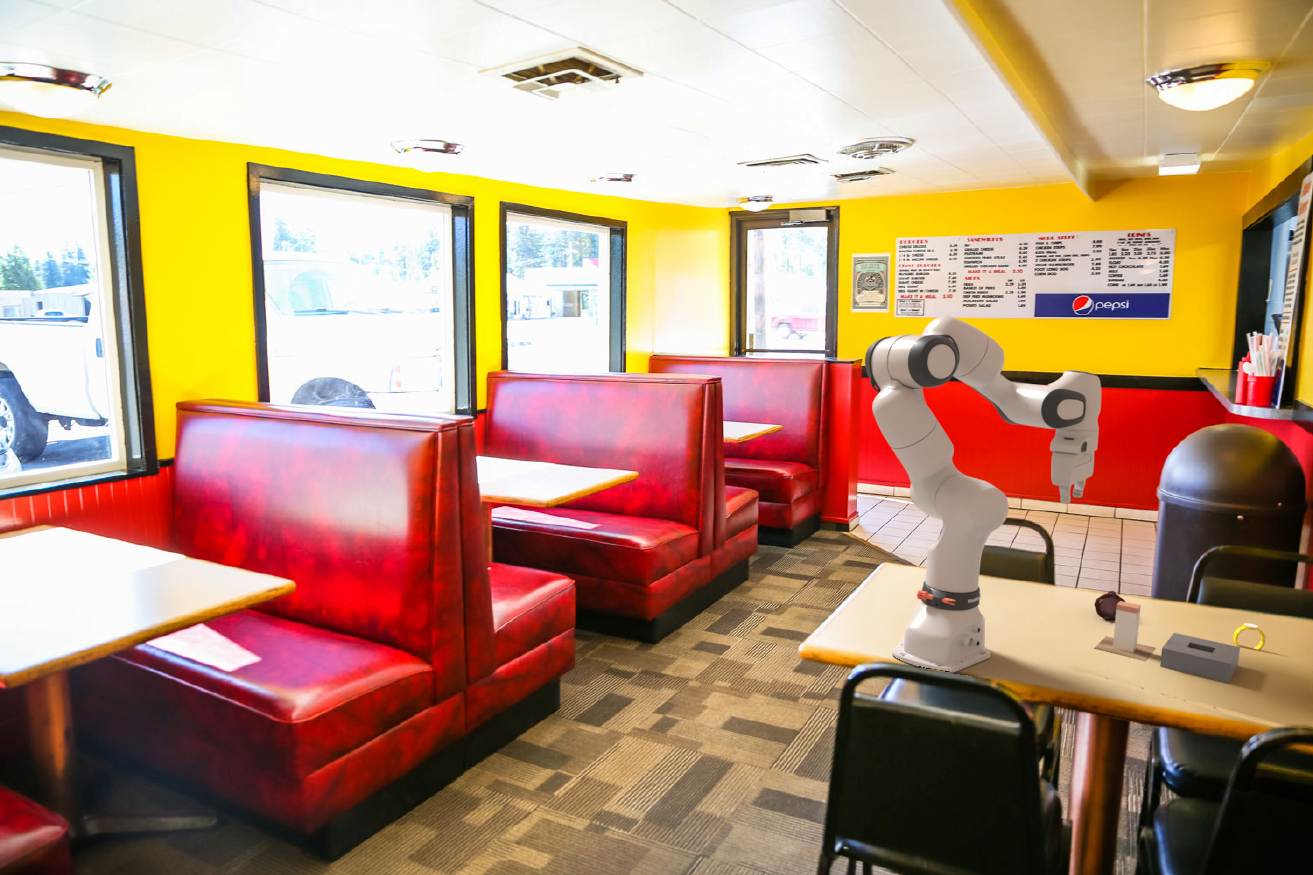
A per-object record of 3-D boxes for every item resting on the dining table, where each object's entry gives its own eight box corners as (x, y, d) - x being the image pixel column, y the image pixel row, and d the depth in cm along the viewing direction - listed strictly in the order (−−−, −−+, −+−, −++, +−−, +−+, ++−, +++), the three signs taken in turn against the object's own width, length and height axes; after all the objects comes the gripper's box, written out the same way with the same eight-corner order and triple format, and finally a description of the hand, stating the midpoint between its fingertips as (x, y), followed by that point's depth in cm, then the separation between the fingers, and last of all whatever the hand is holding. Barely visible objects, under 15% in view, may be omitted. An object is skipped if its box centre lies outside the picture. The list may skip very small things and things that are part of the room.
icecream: (1135, 606, 197) (1130, 593, 210) (1101, 594, 200) (1098, 582, 213) (1124, 633, 198) (1119, 619, 212) (1091, 620, 201) (1088, 607, 214)
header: (1228, 687, 168) (1230, 663, 167) (1159, 670, 176) (1162, 647, 175) (1237, 669, 177) (1240, 647, 176) (1171, 654, 185) (1174, 632, 184)
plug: (1133, 652, 183) (1137, 608, 181) (1112, 647, 185) (1116, 604, 184) (1136, 648, 185) (1140, 605, 184) (1116, 644, 188) (1120, 600, 186)
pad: (1144, 665, 178) (1145, 660, 178) (1093, 652, 185) (1093, 648, 185) (1155, 652, 186) (1155, 647, 186) (1105, 640, 192) (1106, 636, 192)
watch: (1258, 650, 189) (1263, 625, 188) (1264, 654, 186) (1270, 629, 185) (1229, 646, 190) (1234, 620, 189) (1235, 650, 187) (1240, 625, 186)
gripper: (1074, 435, 203) (1070, 491, 205) (1047, 444, 188) (1043, 504, 190) (1103, 438, 199) (1098, 495, 201) (1078, 447, 184) (1073, 508, 186)
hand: (1071, 500), depth 196 cm, fingers open, 8 cm apart
